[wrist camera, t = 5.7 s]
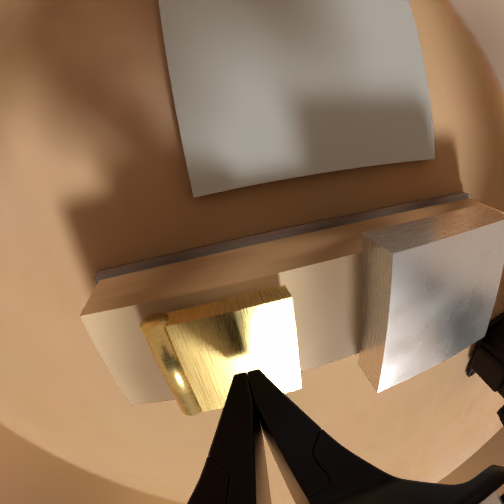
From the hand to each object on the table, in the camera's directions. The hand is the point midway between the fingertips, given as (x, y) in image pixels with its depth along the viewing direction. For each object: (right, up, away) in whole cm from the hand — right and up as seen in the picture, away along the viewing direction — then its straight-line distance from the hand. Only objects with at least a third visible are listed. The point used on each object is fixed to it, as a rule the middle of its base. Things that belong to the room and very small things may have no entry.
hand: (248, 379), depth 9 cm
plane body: (+3, +3, +5) cm, 7 cm away
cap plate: (+8, +3, +3) cm, 9 cm away
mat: (+3, +12, +2) cm, 13 cm away
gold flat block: (-3, 0, +1) cm, 3 cm away
